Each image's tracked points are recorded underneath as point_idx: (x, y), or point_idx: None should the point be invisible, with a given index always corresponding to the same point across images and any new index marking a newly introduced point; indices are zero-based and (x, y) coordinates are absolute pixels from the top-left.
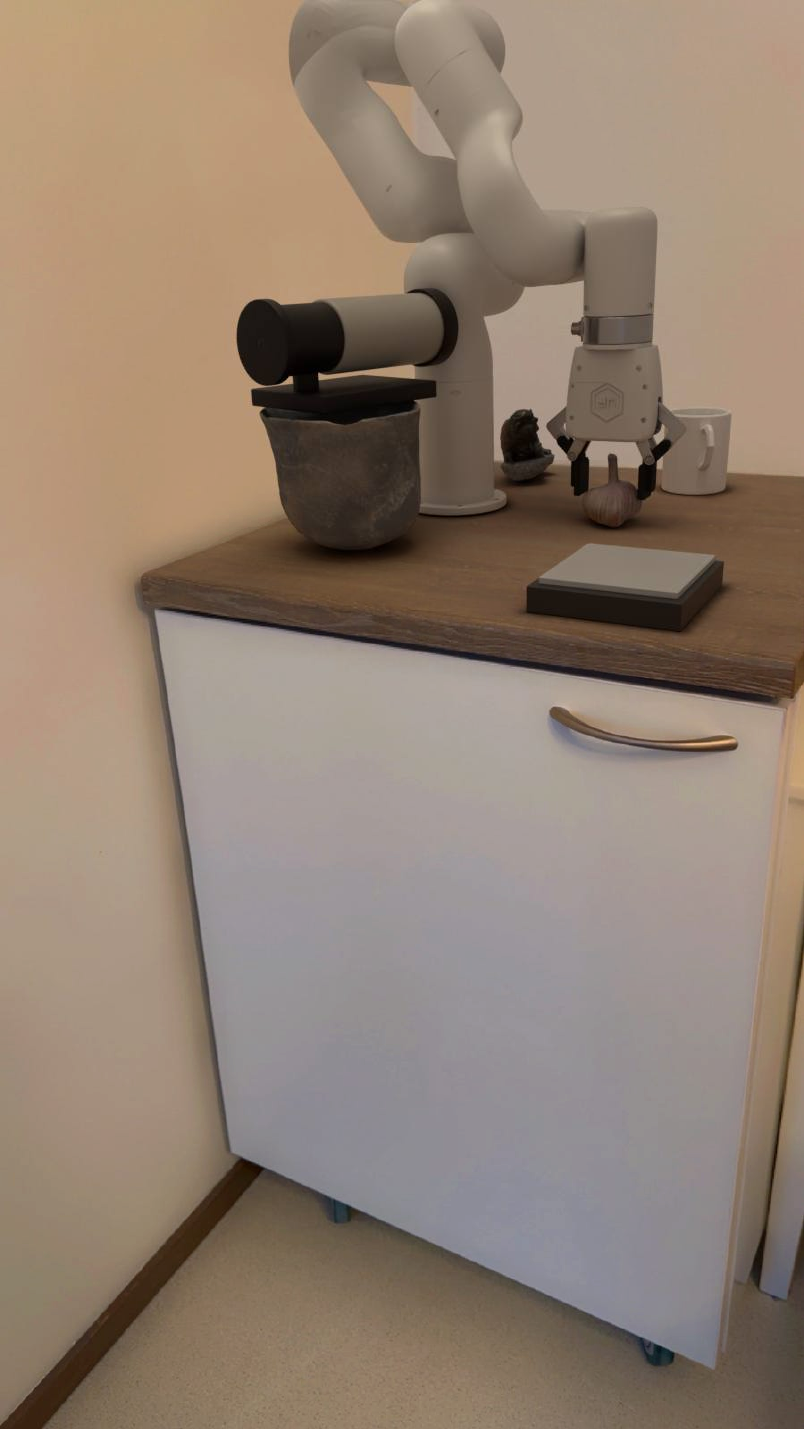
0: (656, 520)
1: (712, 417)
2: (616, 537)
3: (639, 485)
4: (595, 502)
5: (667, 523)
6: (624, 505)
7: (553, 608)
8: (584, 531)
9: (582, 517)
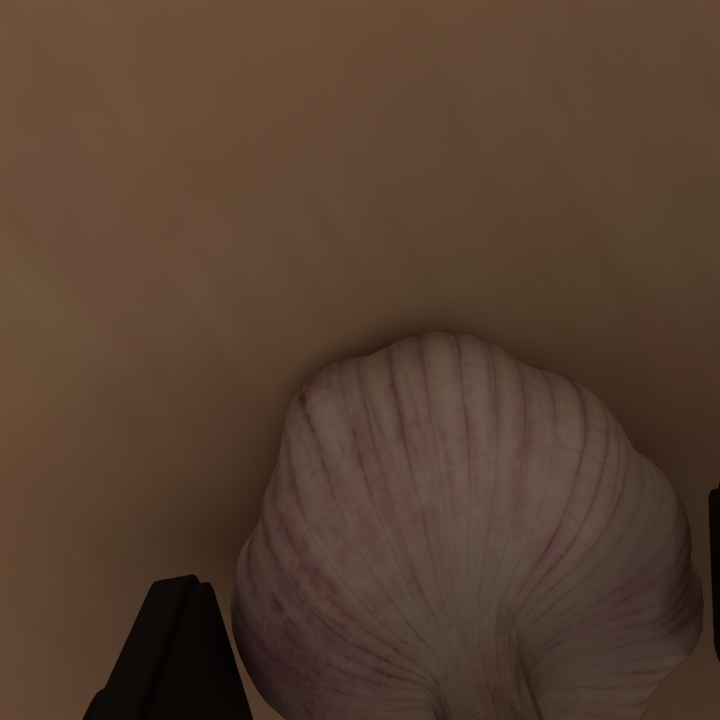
0: None
1: None
2: (218, 205)
3: (155, 652)
4: (491, 378)
5: None
6: (278, 478)
7: None
8: (483, 236)
9: None
